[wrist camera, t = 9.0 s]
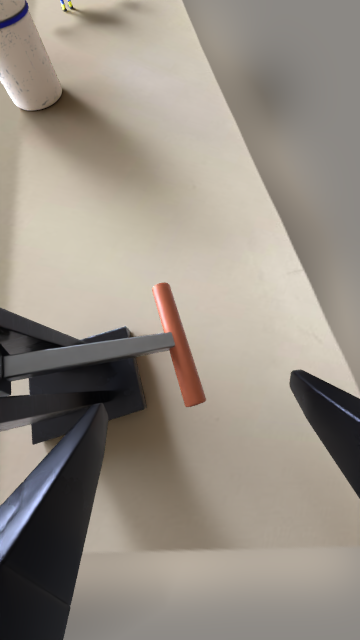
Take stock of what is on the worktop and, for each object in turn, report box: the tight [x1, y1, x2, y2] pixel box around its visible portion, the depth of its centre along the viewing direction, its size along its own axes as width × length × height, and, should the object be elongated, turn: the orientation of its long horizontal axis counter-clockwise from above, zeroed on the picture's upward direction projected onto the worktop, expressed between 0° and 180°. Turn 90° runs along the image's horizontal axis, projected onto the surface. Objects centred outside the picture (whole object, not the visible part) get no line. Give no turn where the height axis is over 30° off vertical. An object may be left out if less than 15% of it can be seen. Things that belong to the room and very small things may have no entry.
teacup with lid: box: [0, 0, 62, 110], centre depth 30 cm, size 12×9×12 cm
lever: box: [0, 283, 206, 407], centre depth 12 cm, size 13×9×2 cm
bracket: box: [0, 308, 147, 444], centre depth 14 cm, size 10×8×13 cm
